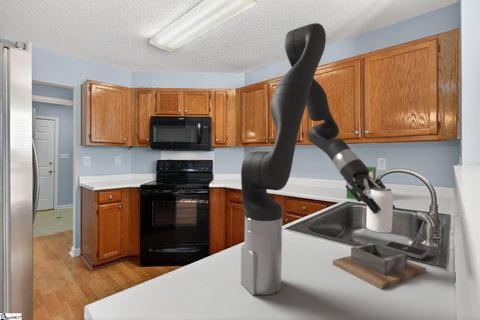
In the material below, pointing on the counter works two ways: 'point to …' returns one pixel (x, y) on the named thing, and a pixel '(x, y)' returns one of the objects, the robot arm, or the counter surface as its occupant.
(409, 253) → the external hard drive
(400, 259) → the socket board
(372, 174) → the green cereal box
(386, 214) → the can
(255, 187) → the robot arm
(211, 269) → the counter surface
